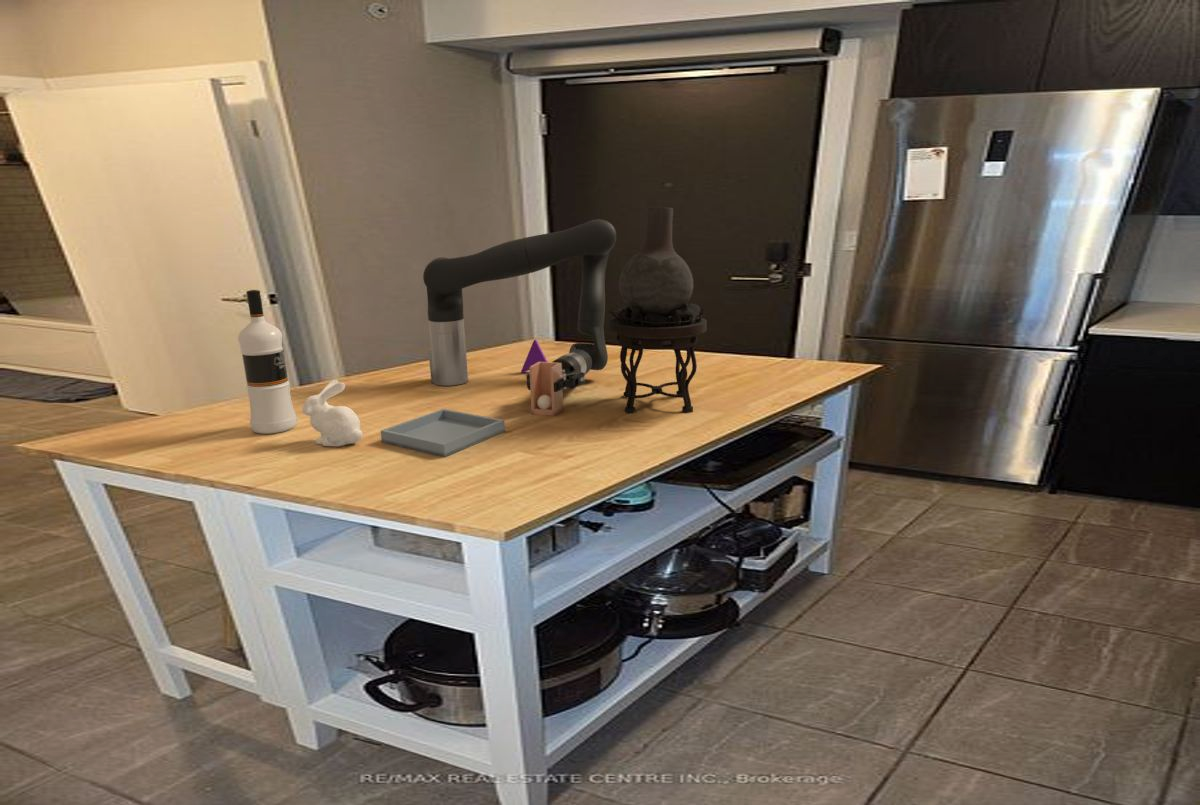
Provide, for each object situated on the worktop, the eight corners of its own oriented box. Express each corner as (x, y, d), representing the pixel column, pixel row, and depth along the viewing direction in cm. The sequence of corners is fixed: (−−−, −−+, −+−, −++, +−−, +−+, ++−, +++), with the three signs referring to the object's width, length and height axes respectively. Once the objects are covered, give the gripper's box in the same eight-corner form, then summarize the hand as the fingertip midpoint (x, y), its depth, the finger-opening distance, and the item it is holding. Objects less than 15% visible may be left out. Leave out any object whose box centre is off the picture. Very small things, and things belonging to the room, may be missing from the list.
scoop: (531, 414, 153) (529, 367, 150) (540, 407, 159) (538, 361, 156) (554, 415, 152) (552, 368, 149) (563, 408, 157) (561, 362, 154)
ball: (537, 411, 155) (532, 402, 152) (544, 399, 156) (539, 390, 154) (549, 413, 153) (545, 404, 151) (556, 402, 155) (552, 393, 152)
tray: (381, 442, 136) (380, 430, 136) (444, 419, 151) (443, 408, 150) (445, 457, 127) (444, 444, 127) (505, 431, 142) (504, 420, 141)
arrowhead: (537, 386, 195) (560, 363, 192) (536, 388, 193) (560, 364, 191) (512, 363, 194) (535, 338, 191) (511, 364, 192) (534, 339, 190)
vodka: (251, 425, 149) (228, 289, 141) (297, 419, 153) (277, 286, 144) (251, 437, 141) (226, 293, 133) (299, 431, 145) (278, 290, 136)
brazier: (598, 413, 153) (594, 207, 140) (622, 389, 173) (620, 207, 161) (697, 420, 147) (702, 205, 134) (709, 393, 168) (714, 205, 155)
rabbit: (302, 444, 136) (293, 387, 133) (335, 430, 144) (328, 376, 141) (349, 451, 132) (341, 392, 128) (381, 436, 140) (374, 380, 137)
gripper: (540, 354, 168) (512, 369, 152) (594, 356, 164) (572, 372, 148) (541, 383, 170) (513, 400, 154) (595, 386, 166) (573, 404, 150)
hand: (542, 386), depth 151 cm, fingers closed on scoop, 5 cm apart
